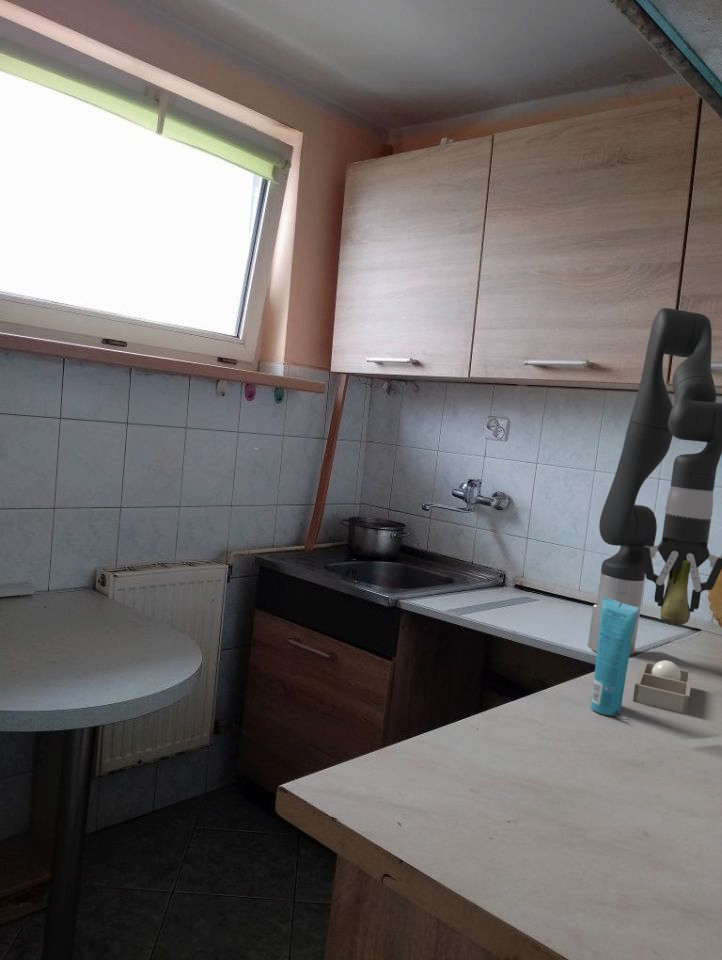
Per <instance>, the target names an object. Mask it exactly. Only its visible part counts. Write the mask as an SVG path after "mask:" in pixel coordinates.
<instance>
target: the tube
mask: <svg viewBox="0 0 722 960" xmlns="http://www.w3.org/2000/svg"><path fill="white" fill-rule="evenodd" d="M638 610H639V608H638V607H634V606H630V605H627V604H624V603H621V602H618V601H615V600H612V599H609V598H606V597H602V606H601V619H600V629H599V639H598V649H597V652H596V658H595V659H596V660H595V665H594V666H595V668H594V678H593V685H592V694H591V702H590V708H591V710H593V711H594V712H596V713H598V714H601V715H604V716H613V717H615V716H619V715H620V713H618V712H620V711H621V710H622V704H623V697H624V690H625V684H626V680H627V679H626V677H627V671H628V664H629V661H630V655H631V654H630V649H631V643H632V638H633V633H634V628H635V623H636V619H637V615H638Z"/></svg>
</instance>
